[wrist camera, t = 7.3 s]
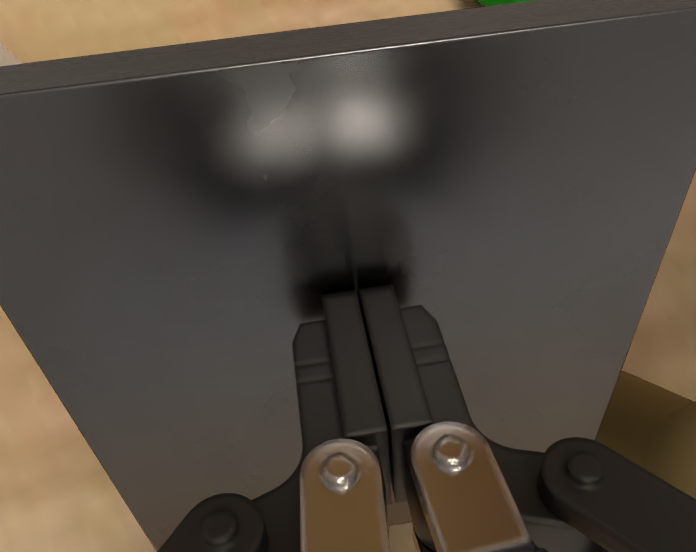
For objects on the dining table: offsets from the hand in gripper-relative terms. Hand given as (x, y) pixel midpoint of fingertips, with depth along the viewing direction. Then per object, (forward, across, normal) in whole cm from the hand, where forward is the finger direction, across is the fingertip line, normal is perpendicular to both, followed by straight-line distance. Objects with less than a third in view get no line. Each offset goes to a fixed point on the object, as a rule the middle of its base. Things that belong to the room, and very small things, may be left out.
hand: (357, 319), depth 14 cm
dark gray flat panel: (+1, 0, +2) cm, 2 cm away
